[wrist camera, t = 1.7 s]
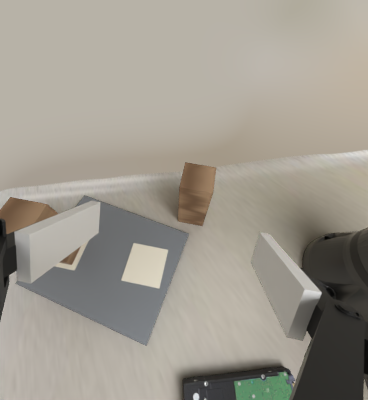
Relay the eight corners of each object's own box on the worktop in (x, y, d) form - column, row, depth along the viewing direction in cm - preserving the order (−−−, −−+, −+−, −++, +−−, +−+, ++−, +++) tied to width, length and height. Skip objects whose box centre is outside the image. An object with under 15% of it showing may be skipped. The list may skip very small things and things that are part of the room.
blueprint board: (188, 235, 36) (188, 233, 35) (146, 344, 27) (145, 346, 26) (86, 197, 40) (84, 194, 39) (19, 284, 31) (14, 283, 30)
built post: (85, 237, 34) (47, 204, 24) (71, 265, 31) (22, 241, 21) (59, 231, 34) (10, 197, 24) (43, 259, 32) (-19, 233, 21)
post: (205, 204, 40) (216, 167, 30) (202, 225, 38) (212, 193, 27) (182, 200, 41) (185, 162, 30) (177, 221, 38) (179, 187, 28)
